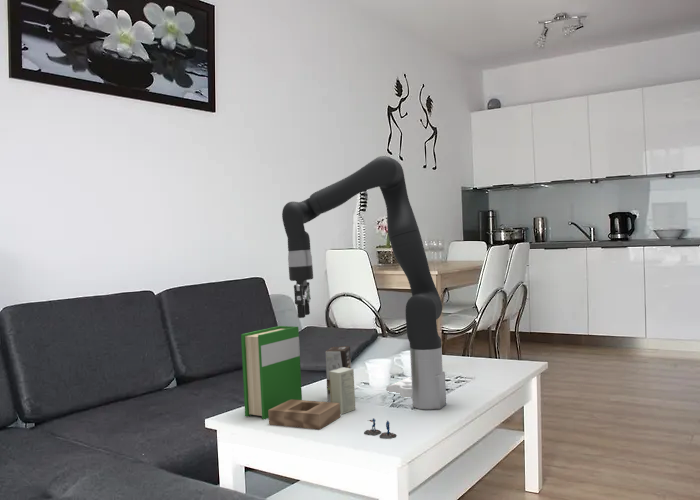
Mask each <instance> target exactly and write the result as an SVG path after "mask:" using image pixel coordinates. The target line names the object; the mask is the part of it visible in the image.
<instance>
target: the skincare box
mask: <svg viewBox="0 0 700 500" xmlns="http://www.w3.org/2000/svg"><path fill="white" fill-rule="evenodd" d="M354 374H355V373H354V368H352V367H351V368H345V367H342V368H339V369H335V370H332V371H329V376H330V397H331V402H332V403H340V415H343V414H346V413H349V412H352V411H354V410H356V393H355V376H354Z"/></svg>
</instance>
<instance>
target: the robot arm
mask: <svg viewBox="0 0 700 500" xmlns="http://www.w3.org/2000/svg"><path fill="white" fill-rule="evenodd" d="M375 188H379V189H380V191H381V194H382V197H383V199H384V203H385V207H386V225H387V233H388V239H389V243H390V246H391V251H392V253H393V255H394V258H395V259H396V261H397V263H398V264H399V266H400V268H401V270H402V271H403V273H404V274H405V276H406V278H407V280H408V284H409V288H410V292H411V296H410V297H409V298H408V300H407V302H406V305H405V324H406V325H405V326H406V335H407V339H408V342H409V353H410V355H409V356H410V377H411V379H412V398H411V400H412V406H413V408H416V409H419V410H437V409H438V410H441V409H442V408H444V407H445V406H446V405H447V389H446V388H447V387H446V386H447V385H446V372H445V371H443V352H442V350H443V349H442V347H443V346H442V338H441V336H440V335H439V332H438V321H437V320H438V319H439V318H440V317H441V315H442V313H443V302H442V299H441V297H440V294H439V292H438V289H437V287H436V284H435V281H434V280H433V277H432V273H431V269H430V266H429V262H428V258H427V254H426V251H425V246H424V243H423V239H422V236H421V233H420V228H419V226H418V222H417V219H416V216H415V213H414V211H413V209H412V208H413V207H412V205H411V202H410V199H409V195H408V190H407V185H406V178H405V172H404V169H403V167H402V165H401V163H400V162H399V160H396V159H395V158H392V157H390V156H387V155H381V156H378V157H376V158H374V159H372V160H371V161H370V162H367V164H365V165H364V166H362V167H361V168H360V169H358V170H356V171H355V172H353V173H352V174H350V175H348V176H346V177H343V178H342V179H340V180H338V181H336V182H335V183H332V184H330V185H328V186H326V187H323V188H320V189H319V190H317V191H315V192H313V193H312V194H311V195H310V196H309V197H307V199H305V200H301V201H289V202H287V203H286V204H285V205H283V208H282V212H281V219H282V223H283V227H284V231H285V234H286V237H287V249H288V250H287V251H288V254H287V262H288V264H287V265H288V277H289V280H290V281H291V282H293V281H295V282H296V284H294V285H293V289H294V290H293V291H294V292H293V293H294V304H295V305H296V308H297V318H298V319H303V318H306V316H308V315H310V314H311V312H310V310H311V309H310V302H311V291H310V290H311V289H310V282H309V280H310V281H311V280H314V270H313V269H314V268H313V256H312V251H311V250H312V249H311V238H310V235H309V233H308V232H307V231H306V230H305V224H307V223H309V222H310V221H313V220H314V219H317V217H319V216H320V215H322V214H325V213H327V212H329V211H331V210H334V209H336V208H338V207H340V206H342V205H343V204H345V203H346V202H348V201H349V200H351V198H353V197H355V196H357V195H358V194H360V193H364V192H365V191H368V190H372V189H375Z"/></svg>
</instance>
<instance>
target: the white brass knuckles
mask: <svg viewBox="0 0 700 500" xmlns="http://www.w3.org/2000/svg"><path fill="white" fill-rule="evenodd" d="M385 390H386V392H387V391H389V392H396V393H400V394H399V396H400V395H401V396H403V397H412V379H411V376H410V377H405V378H403V379H402V380H398V381H397V382H395V383H392V384H391V383H390V384H389V385H388V386H386V388H385ZM401 396H400V397H401ZM403 397H402V398H403Z"/></svg>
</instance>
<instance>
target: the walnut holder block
mask: <svg viewBox="0 0 700 500" xmlns="http://www.w3.org/2000/svg"><path fill="white" fill-rule="evenodd" d="M268 415H269V418H268V425H269V424H270V425H271V426H280V427H291V428H302V429H308V430H309V429H310V430H321V429H323V428H325V427H327V426H329V425H330V424H332V423H333V422H335V421H336V420H338V419H340V418H341V414H340V403H332V402H327V401H315V400H303V399H302V400H293V399H291V400H288V401H286V402H284V403H282V404H280V405H278V406H276V407H274V408H272V409H269V410H268Z"/></svg>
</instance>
